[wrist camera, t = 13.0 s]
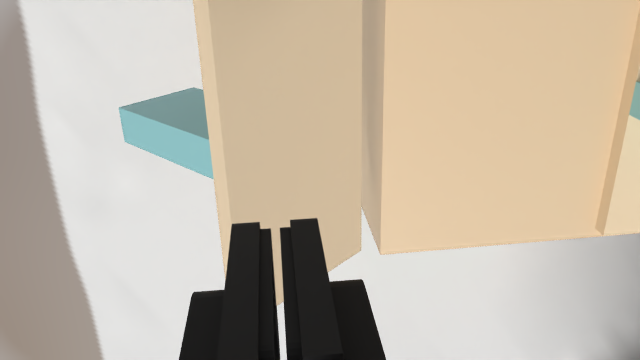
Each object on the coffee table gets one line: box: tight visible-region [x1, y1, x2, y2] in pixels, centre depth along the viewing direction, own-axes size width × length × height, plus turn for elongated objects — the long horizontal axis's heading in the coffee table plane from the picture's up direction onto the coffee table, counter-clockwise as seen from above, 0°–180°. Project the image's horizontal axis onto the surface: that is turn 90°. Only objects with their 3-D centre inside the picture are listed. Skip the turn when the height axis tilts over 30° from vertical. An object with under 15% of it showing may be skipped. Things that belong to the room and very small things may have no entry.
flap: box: [119, 0, 362, 305], centre depth 19 cm, size 11×6×5 cm
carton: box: [361, 0, 640, 255], centre depth 23 cm, size 12×15×17 cm
